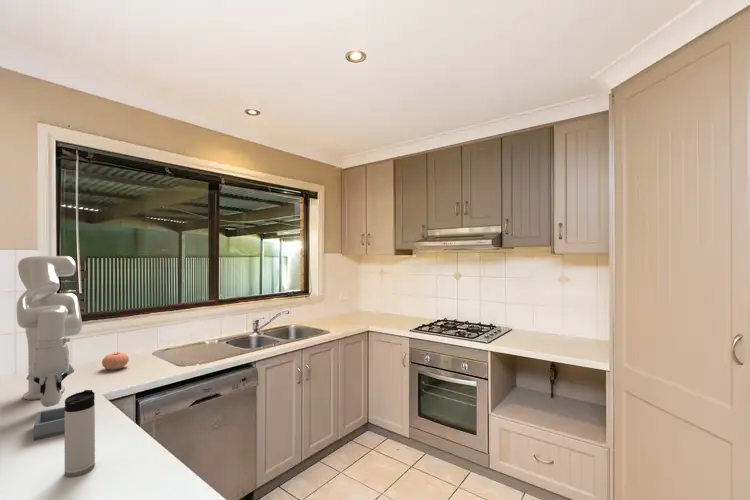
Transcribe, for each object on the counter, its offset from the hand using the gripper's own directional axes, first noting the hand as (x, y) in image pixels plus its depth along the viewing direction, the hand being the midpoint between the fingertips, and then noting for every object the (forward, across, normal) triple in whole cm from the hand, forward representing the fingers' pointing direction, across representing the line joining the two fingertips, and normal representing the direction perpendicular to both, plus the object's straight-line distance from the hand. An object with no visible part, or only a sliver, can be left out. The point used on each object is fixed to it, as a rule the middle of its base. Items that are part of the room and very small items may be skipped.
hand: (51, 392), depth 135 cm
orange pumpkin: (+8, -22, -42) cm, 48 cm away
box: (+5, -3, +20) cm, 21 cm away
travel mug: (+4, -8, +54) cm, 55 cm away
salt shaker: (+4, 0, 0) cm, 4 cm away
